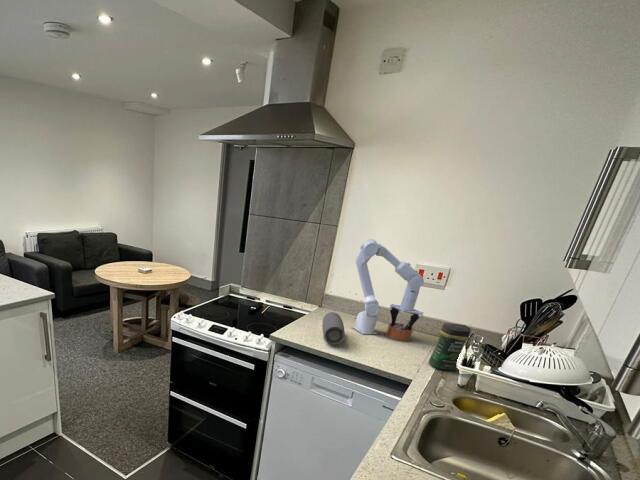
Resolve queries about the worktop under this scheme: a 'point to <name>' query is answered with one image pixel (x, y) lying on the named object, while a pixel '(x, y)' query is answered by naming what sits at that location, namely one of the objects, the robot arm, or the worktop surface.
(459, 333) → the coffee jar
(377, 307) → the robot arm
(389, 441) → the worktop surface
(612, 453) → the worktop surface
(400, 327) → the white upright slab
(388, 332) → the reddish brown oval basket
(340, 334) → the bluetooth speaker
